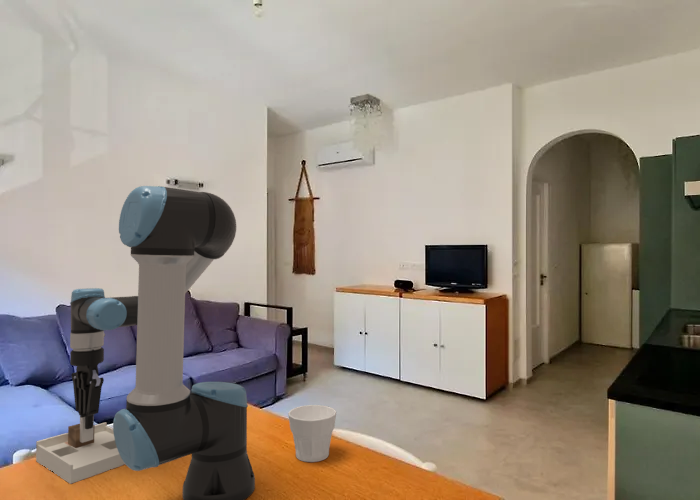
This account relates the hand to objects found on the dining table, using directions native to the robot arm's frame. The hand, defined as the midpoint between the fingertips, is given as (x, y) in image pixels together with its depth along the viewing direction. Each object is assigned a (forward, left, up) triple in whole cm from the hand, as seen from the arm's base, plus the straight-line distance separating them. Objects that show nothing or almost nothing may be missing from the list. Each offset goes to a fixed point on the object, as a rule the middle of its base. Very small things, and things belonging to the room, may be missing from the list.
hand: (86, 440), depth 117 cm
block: (+3, 0, -1) cm, 3 cm away
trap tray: (-2, 0, -4) cm, 5 cm away
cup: (-46, -35, -5) cm, 58 cm away
